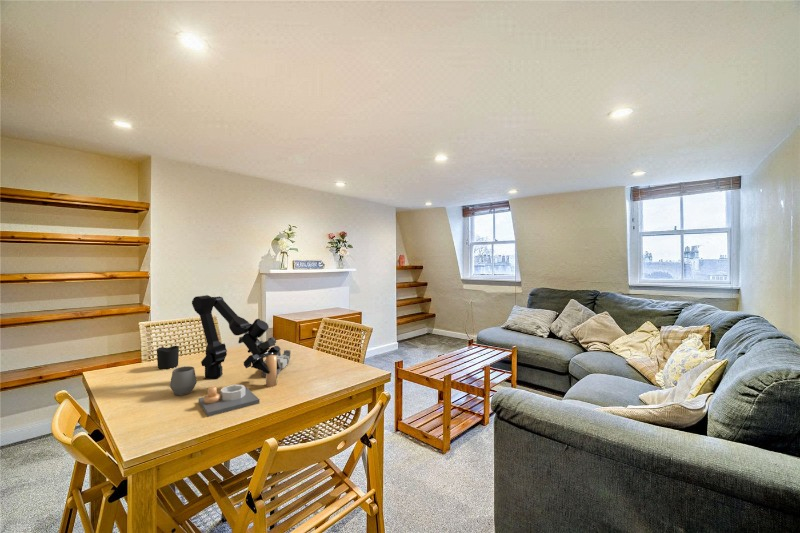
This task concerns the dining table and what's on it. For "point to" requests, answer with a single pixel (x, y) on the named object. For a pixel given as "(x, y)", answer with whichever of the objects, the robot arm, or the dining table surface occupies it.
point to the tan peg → (271, 370)
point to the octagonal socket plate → (227, 399)
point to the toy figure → (280, 361)
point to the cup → (183, 380)
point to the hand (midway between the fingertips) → (273, 370)
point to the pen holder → (167, 357)
